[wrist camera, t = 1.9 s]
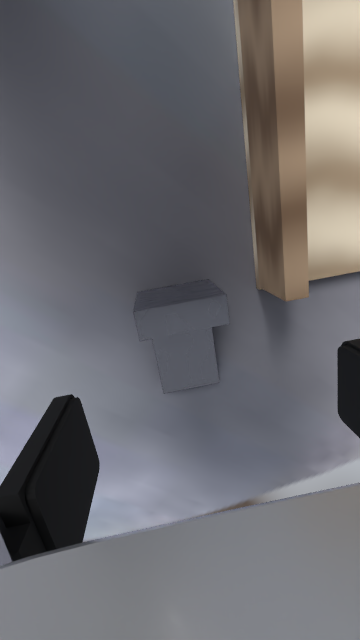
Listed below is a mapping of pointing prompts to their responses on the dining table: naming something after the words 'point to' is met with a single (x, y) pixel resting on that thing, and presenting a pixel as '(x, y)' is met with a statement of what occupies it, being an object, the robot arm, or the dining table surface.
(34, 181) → the dining table surface
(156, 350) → the gray t-shaped block
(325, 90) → the corner arena
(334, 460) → the dining table surface
